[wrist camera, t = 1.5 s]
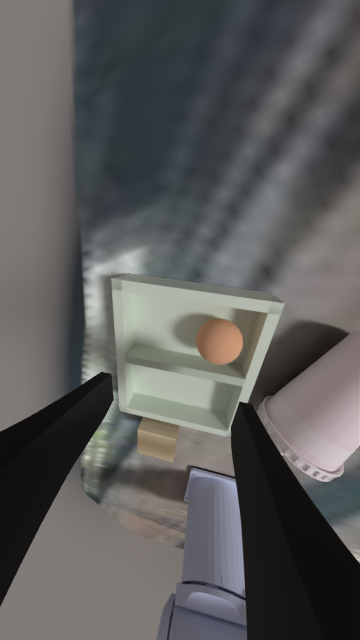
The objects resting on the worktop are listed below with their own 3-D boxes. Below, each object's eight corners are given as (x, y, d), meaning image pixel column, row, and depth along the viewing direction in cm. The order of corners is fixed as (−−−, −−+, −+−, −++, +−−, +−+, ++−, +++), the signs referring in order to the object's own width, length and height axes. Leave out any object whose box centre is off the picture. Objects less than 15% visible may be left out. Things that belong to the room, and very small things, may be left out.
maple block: (179, 426, 22) (173, 462, 18) (150, 419, 22) (137, 452, 19) (183, 404, 20) (176, 439, 16) (151, 397, 21) (137, 429, 17)
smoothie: (525, 413, 7) (304, 535, 12) (409, 357, 13) (291, 456, 18) (358, 332, 9) (226, 467, 14) (321, 314, 15) (236, 415, 20)
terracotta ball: (233, 351, 15) (239, 379, 12) (195, 344, 15) (190, 369, 12) (244, 315, 14) (253, 336, 10) (200, 308, 14) (197, 326, 11)
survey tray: (231, 413, 19) (234, 438, 17) (131, 390, 20) (119, 410, 18) (271, 293, 13) (285, 303, 11) (128, 273, 15) (111, 278, 12)
